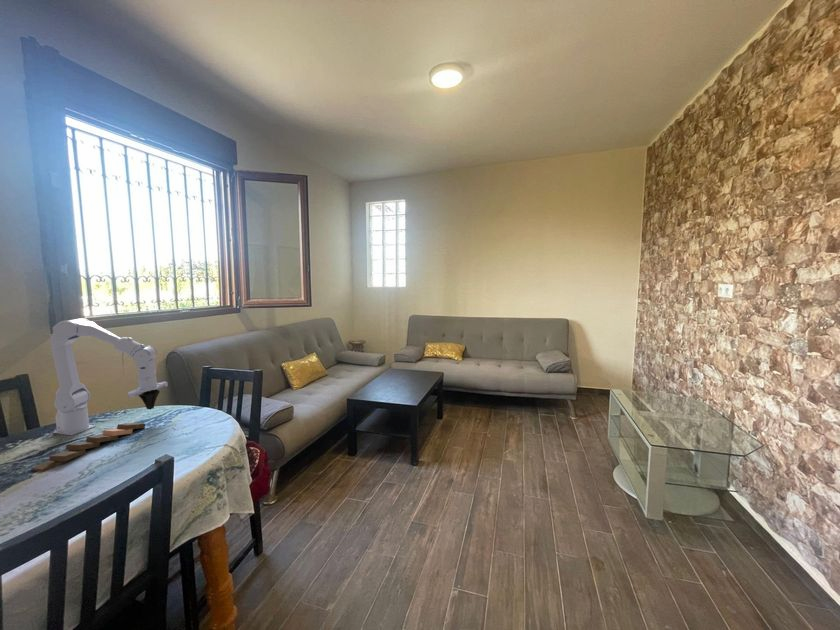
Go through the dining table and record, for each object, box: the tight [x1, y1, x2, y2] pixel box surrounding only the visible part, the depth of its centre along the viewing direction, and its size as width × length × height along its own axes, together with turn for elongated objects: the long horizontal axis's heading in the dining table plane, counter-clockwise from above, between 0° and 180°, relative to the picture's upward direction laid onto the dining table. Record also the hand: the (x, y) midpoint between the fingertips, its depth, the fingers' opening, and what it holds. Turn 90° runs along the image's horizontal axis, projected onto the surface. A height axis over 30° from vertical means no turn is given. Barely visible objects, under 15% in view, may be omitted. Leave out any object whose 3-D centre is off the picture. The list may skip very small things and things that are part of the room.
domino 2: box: [48, 449, 86, 462], centre depth 110 cm, size 2×5×7 cm
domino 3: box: [65, 441, 101, 451], centre depth 116 cm, size 2×5×7 cm
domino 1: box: [30, 459, 71, 473], centre depth 107 cm, size 2×5×7 cm
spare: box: [101, 428, 134, 436], centre depth 126 cm, size 2×5×7 cm
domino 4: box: [85, 434, 119, 443], centre depth 121 cm, size 2×5×7 cm
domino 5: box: [116, 422, 146, 430], centre depth 131 cm, size 2×5×7 cm
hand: (150, 408), depth 138 cm, fingers closed
